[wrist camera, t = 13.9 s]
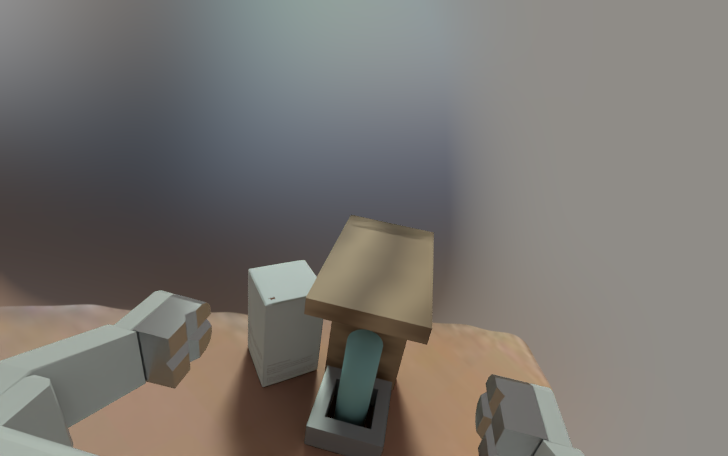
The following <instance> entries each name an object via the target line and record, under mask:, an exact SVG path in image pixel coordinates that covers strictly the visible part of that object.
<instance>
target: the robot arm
mask: <svg viewBox="0 0 728 456" xmlns="http://www.w3.org/2000/svg"><path fill="white" fill-rule="evenodd" d="M210 314H211V311H210V305H209V304H208V303H206V302H202V301H198V300H195V299H191V298H188V297H184V296H181V295H177V294H172V293H168V292H165V291H161V290H160V291H156V292H154V293H153V294H151V295H150V296H149V297H148V298H146V299H145V300H144V301H143V302H142V303H141V304H139V305H138V306H137V307H136V308H134V309H133V310H132V311H131V312H129V313H128V314H127V315H126V316H124V317H123V318H122V319H121V320H120V321H118V322H117V323H116V324H115V325H109V324H108V325H105V326H102V327H99V328H96V329H93V330H90V331H87V332H84V333H81V334H78V335H75V336H72V337H69V338H66V339H63V340H60V341H57V342H55V343H52V344H49V345H46V346H43V347H40V348H37V349H34V350H31V351H28V352H25V353H22V354H19V355H16V356H13V357H10V358H7V359H4V360H1V361H0V456H98V455H95V454H92V453H89V452H85V451H82V450H79V449H76V448H73V441H72V438H71V436H70V433H69V430H68V428H69V427H71V426H72V425H74V424H76V423H77V422H79V421H81V420H83V419H84V418H86V417H88V416H90V415H91V414H93V413H95V412H97V411H98V410H100V409H102V408H104V407H105V406H107V405H109V404H110V403H112V402H114V401H116V400H117V399H119V398H121V397H123V396H124V395H126V394H128V393H130V392H131V391H133V390H135V389H137V388H138V387H140V386H142V385H143V384H145V383H146V382H150V383H154V384H159V385H163V386H167V387H171V388H176V387H177V385H178V384H179V383H180V382H181V380H182V379H183V378H184V377H185V375H186V374H187V373H188V372H189V370H190V362H191V361H193V360H195V359H197V358H200V357H201V355H202V354H203V353H204V351H205V350H206V348H207V346H208V344H209V342H210V339H211V333H212V326H211V324H210V323H209V321H208V320H207V318H208V316H209V315H210ZM486 389H487V392H486V393H484V394H482V395H481V396H480V398H479V401H478V403H477V409H476V421H475V423H476V432H477V433H478V435H479V436H480V437H481V439H482V441H481V443H480V445H479V447H478V452H479V456H585V455H584V454H583V453H582V452H581V451H580V450H579V449H576V448H573V447H572V444H571V441H570V438H569V435H568V433H567V430H566V427H565V424H564V422H563V419H562V416H561V413H560V410H559V408H558V405H557V402H556V399H555V396H554V393H553V391H552V390H551V389H550V388H547V387H543V386H539V385H535V384H529V383H526V382H522V381H518V380H514V379H509V378H505V377H501V376H497V375H493V374H492V375H491V376H490V377H489V378H488V380H487V382H486Z"/></svg>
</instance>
